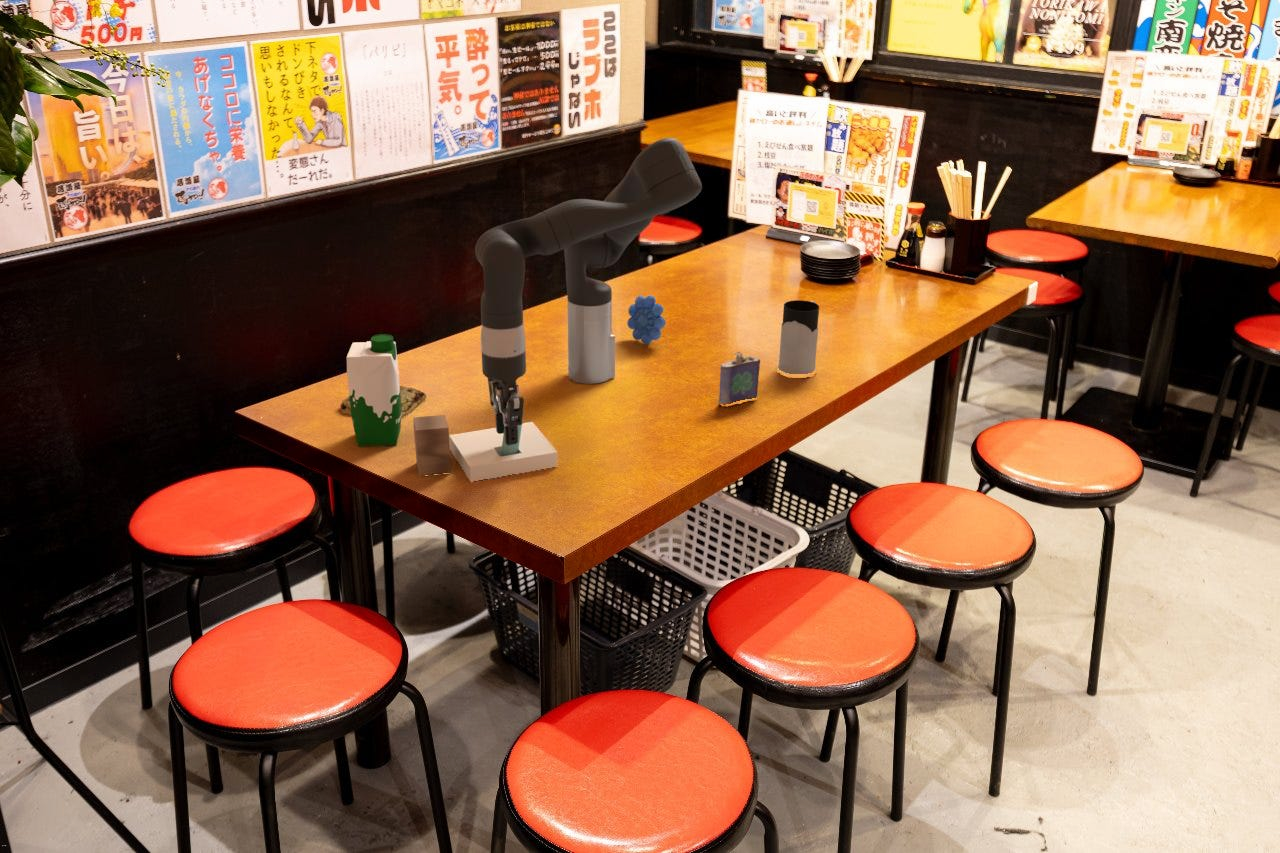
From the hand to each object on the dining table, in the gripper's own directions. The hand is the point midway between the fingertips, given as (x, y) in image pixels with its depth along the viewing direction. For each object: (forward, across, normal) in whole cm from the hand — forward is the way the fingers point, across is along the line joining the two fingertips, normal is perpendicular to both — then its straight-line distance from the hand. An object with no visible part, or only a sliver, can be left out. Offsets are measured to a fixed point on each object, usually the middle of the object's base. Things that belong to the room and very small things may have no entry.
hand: (506, 437), depth 199 cm
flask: (+6, +10, -52) cm, 53 cm away
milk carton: (+6, +20, +19) cm, 28 cm away
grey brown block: (+6, +4, +13) cm, 14 cm away
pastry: (+6, +35, +15) cm, 39 cm away
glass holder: (+6, +22, -74) cm, 77 cm away
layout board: (+6, +3, 0) cm, 6 cm away
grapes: (+6, +48, -49) cm, 69 cm away
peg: (+5, 0, 0) cm, 5 cm away
